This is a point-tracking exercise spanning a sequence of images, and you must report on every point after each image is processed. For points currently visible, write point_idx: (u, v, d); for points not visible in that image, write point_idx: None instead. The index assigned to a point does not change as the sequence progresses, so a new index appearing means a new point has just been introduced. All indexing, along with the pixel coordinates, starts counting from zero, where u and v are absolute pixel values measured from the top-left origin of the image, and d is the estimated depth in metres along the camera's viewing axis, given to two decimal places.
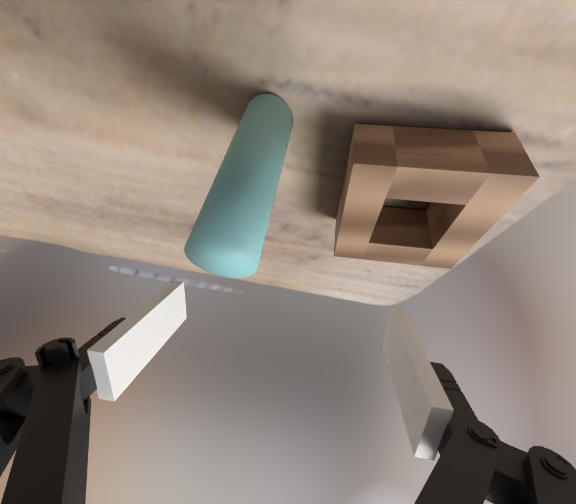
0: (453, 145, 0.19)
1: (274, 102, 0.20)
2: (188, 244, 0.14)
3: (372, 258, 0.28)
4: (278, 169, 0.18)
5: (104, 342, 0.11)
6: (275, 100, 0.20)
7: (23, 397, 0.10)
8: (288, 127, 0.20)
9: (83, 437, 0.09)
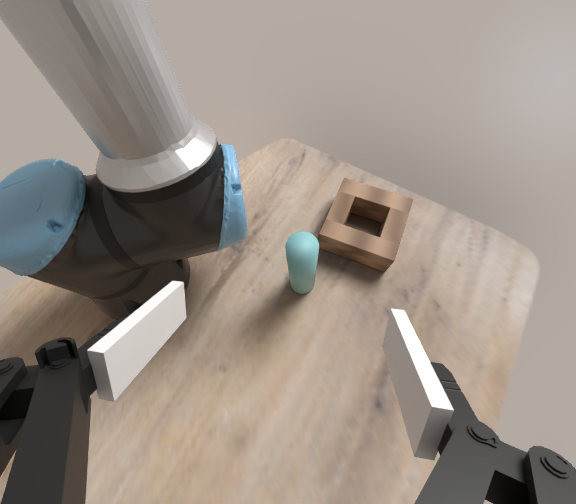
0: None
1: None
2: (288, 253, 0.31)
3: (399, 237, 0.41)
4: None
5: (104, 342, 0.11)
6: None
7: (23, 397, 0.10)
8: None
9: (83, 437, 0.09)
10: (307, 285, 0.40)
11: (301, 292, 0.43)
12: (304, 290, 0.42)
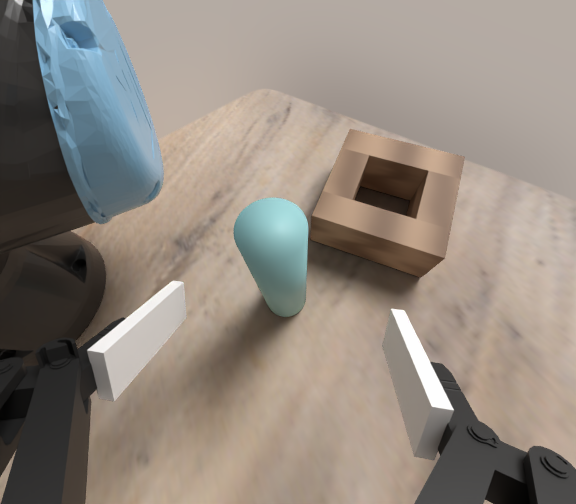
0: None
1: None
2: (238, 244, 0.14)
3: (448, 218, 0.24)
4: None
5: (104, 342, 0.11)
6: None
7: (23, 397, 0.10)
8: None
9: (83, 437, 0.09)
10: (292, 305, 0.22)
11: (284, 315, 0.25)
12: (288, 312, 0.24)
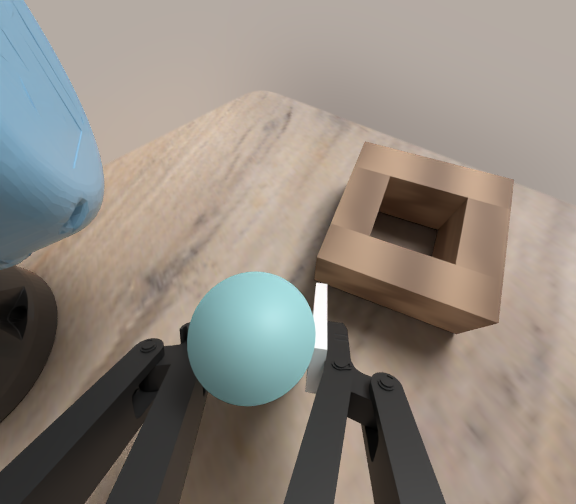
0: None
1: None
2: (193, 362, 0.08)
3: (499, 265, 0.18)
4: None
5: None
6: None
7: (167, 372, 0.11)
8: None
9: (196, 418, 0.10)
10: None
11: None
12: None
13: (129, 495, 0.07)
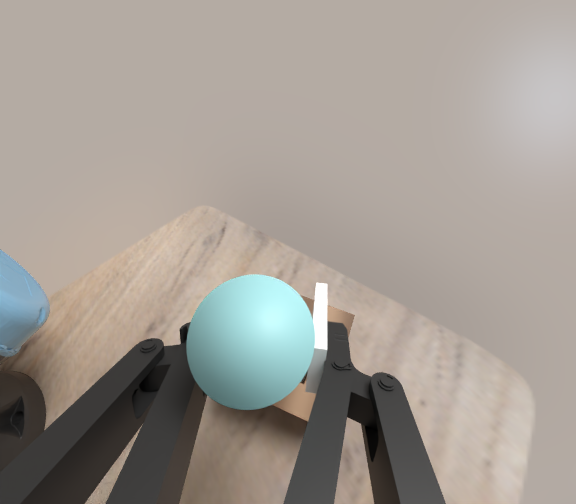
0: None
1: None
2: (193, 365, 0.08)
3: None
4: None
5: None
6: None
7: (167, 372, 0.11)
8: None
9: (196, 418, 0.10)
10: None
11: None
12: None
13: (129, 495, 0.07)
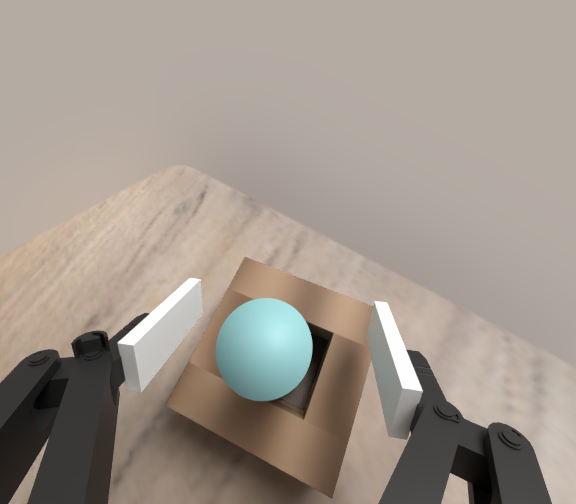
0: None
1: None
2: (221, 368, 0.11)
3: (348, 422, 0.17)
4: None
5: (132, 335, 0.12)
6: None
7: (59, 387, 0.10)
8: None
9: (110, 429, 0.10)
10: None
11: None
12: None
13: None
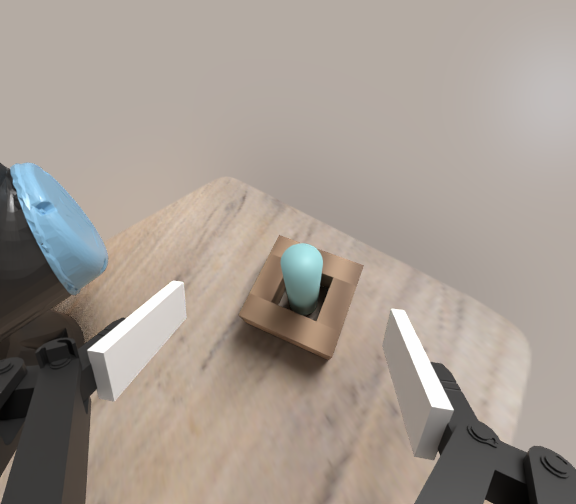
0: None
1: None
2: (283, 270, 0.25)
3: (341, 322, 0.31)
4: None
5: (104, 342, 0.11)
6: None
7: (23, 397, 0.10)
8: None
9: (83, 437, 0.09)
10: (309, 306, 0.33)
11: (302, 314, 0.36)
12: (305, 312, 0.35)
13: None
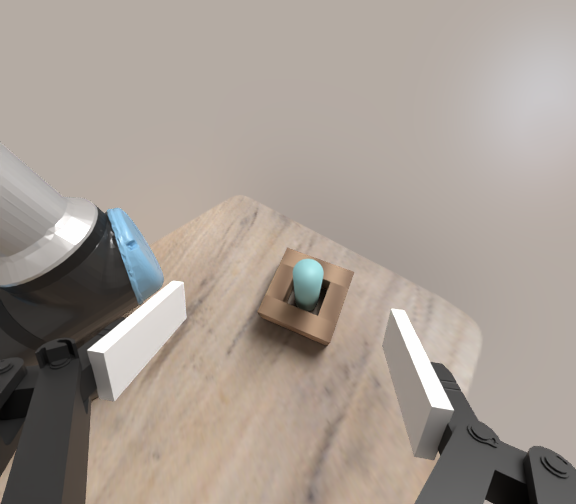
0: None
1: None
2: (295, 279, 0.34)
3: (336, 316, 0.41)
4: None
5: (104, 342, 0.11)
6: None
7: (23, 397, 0.10)
8: None
9: (83, 437, 0.09)
10: (312, 304, 0.43)
11: (306, 310, 0.46)
12: (309, 308, 0.45)
13: None
